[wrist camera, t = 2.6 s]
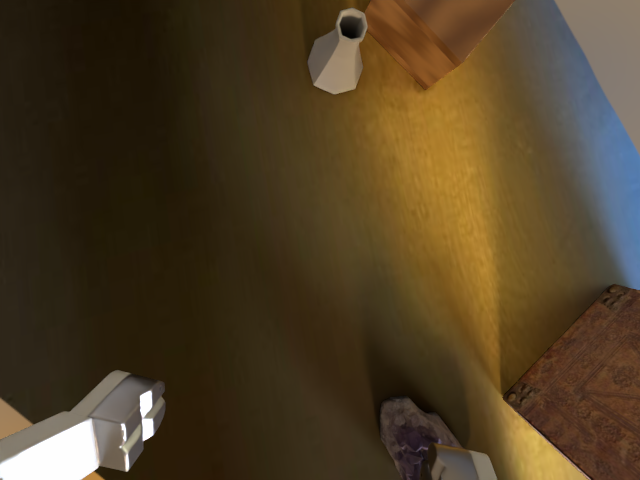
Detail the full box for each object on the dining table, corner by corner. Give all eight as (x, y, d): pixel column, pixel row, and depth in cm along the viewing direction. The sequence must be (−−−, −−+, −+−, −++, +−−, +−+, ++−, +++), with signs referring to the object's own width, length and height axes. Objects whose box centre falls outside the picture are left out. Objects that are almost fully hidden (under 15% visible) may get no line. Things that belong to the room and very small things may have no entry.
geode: (348, 429, 49) (371, 478, 39) (402, 374, 50) (438, 407, 40) (429, 515, 51) (470, 581, 42) (478, 460, 53) (528, 511, 43)
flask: (308, 32, 41) (316, -20, 31) (364, 38, 42) (390, -11, 32) (306, 92, 42) (313, 60, 32) (361, 97, 43) (385, 67, 33)
